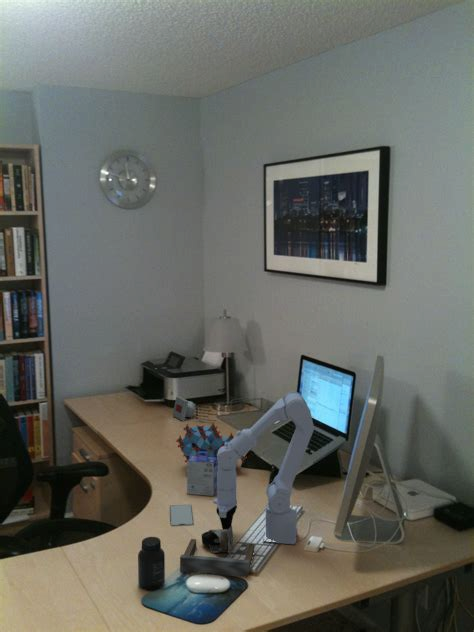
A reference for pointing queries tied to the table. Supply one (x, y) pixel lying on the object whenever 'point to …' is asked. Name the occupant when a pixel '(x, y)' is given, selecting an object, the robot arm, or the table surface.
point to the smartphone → (181, 515)
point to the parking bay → (215, 563)
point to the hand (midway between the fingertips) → (226, 530)
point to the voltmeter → (187, 409)
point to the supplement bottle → (151, 565)
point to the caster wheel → (219, 540)
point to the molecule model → (203, 442)
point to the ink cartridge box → (202, 475)
